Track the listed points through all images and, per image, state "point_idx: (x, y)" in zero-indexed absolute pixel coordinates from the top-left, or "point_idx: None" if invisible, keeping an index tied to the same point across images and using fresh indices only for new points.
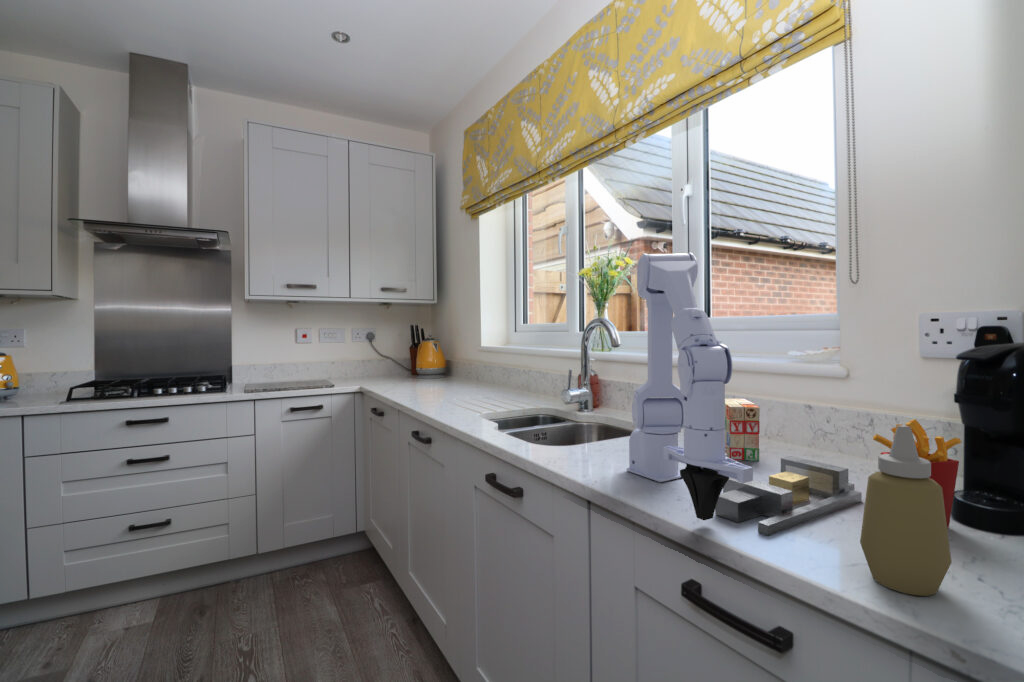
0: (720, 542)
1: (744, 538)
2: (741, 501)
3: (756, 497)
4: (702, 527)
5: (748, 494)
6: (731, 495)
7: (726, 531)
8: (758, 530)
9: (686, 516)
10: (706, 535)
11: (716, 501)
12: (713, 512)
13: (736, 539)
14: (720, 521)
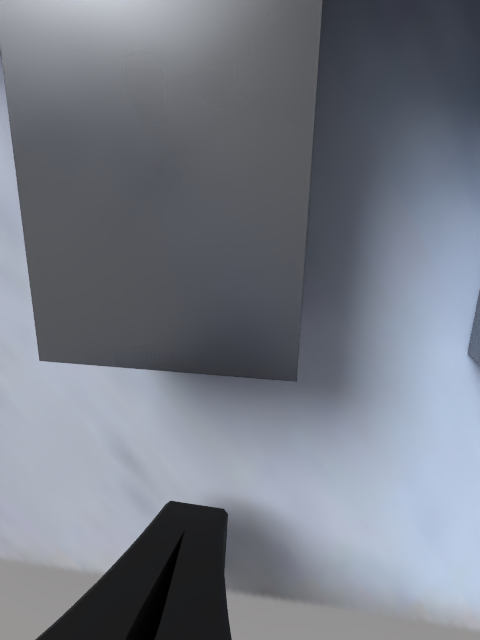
0: (385, 610)
1: (448, 488)
2: (292, 317)
3: (318, 19)
4: None
5: (196, 8)
6: (117, 230)
7: (324, 477)
8: (477, 361)
9: (58, 460)
10: (290, 588)
11: (224, 611)
12: (222, 538)
13: (423, 529)
14: (210, 376)
